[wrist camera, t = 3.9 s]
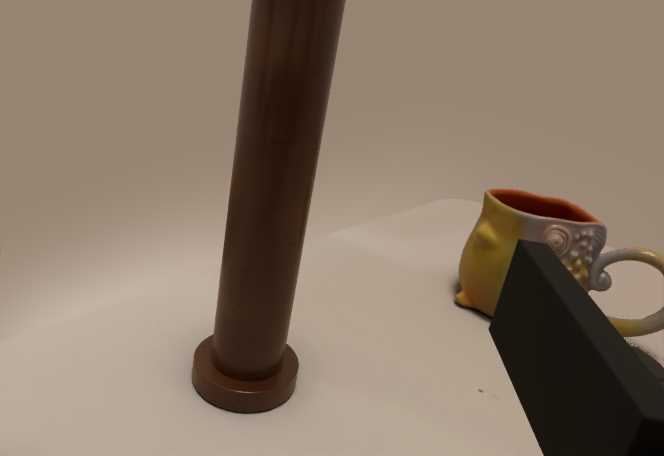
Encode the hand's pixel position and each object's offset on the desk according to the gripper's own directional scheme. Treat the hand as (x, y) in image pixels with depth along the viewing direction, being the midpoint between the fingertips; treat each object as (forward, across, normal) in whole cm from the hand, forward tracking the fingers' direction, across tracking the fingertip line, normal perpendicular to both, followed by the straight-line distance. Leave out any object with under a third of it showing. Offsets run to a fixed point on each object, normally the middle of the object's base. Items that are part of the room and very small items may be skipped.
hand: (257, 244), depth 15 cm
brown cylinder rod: (+7, 0, -10) cm, 12 cm away
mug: (+16, +16, -10) cm, 25 cm away
